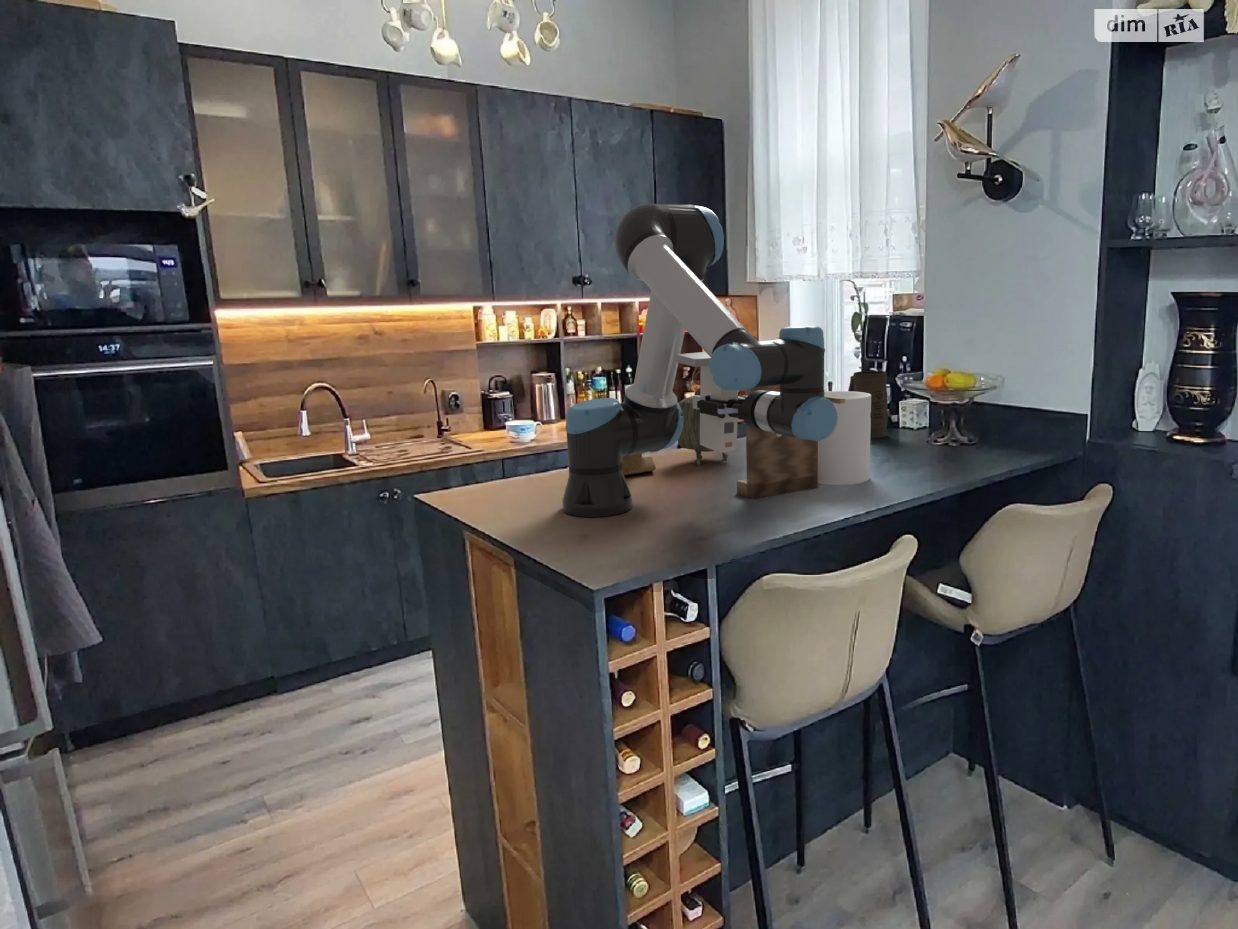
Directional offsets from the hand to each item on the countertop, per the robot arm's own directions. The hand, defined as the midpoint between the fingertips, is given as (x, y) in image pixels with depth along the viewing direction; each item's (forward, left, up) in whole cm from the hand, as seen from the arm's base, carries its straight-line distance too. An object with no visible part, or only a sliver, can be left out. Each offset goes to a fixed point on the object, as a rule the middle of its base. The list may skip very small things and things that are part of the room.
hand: (704, 400), depth 170 cm
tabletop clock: (+24, +40, -23) cm, 52 cm away
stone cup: (0, +37, -23) cm, 44 cm away
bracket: (+20, -5, -23) cm, 30 cm away
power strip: (0, -5, -9) cm, 11 cm away
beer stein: (+84, +45, -23) cm, 98 cm away
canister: (+39, +4, -23) cm, 45 cm away
